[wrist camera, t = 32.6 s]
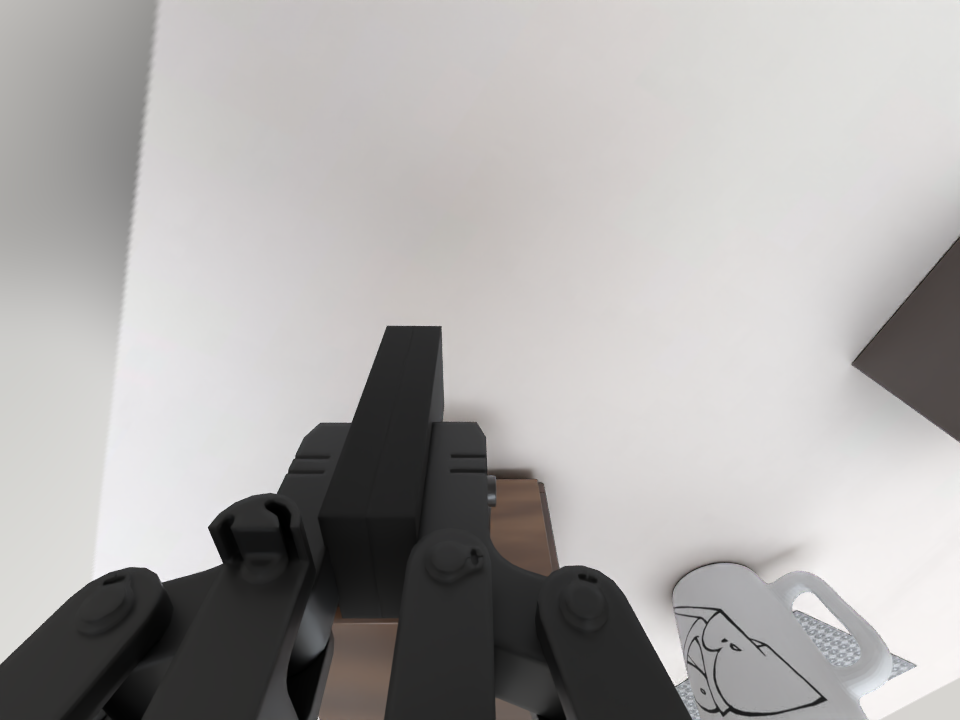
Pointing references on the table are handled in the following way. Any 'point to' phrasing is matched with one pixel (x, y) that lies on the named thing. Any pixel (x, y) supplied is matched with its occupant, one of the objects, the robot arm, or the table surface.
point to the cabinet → (384, 661)
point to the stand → (923, 348)
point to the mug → (769, 648)
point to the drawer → (518, 523)
